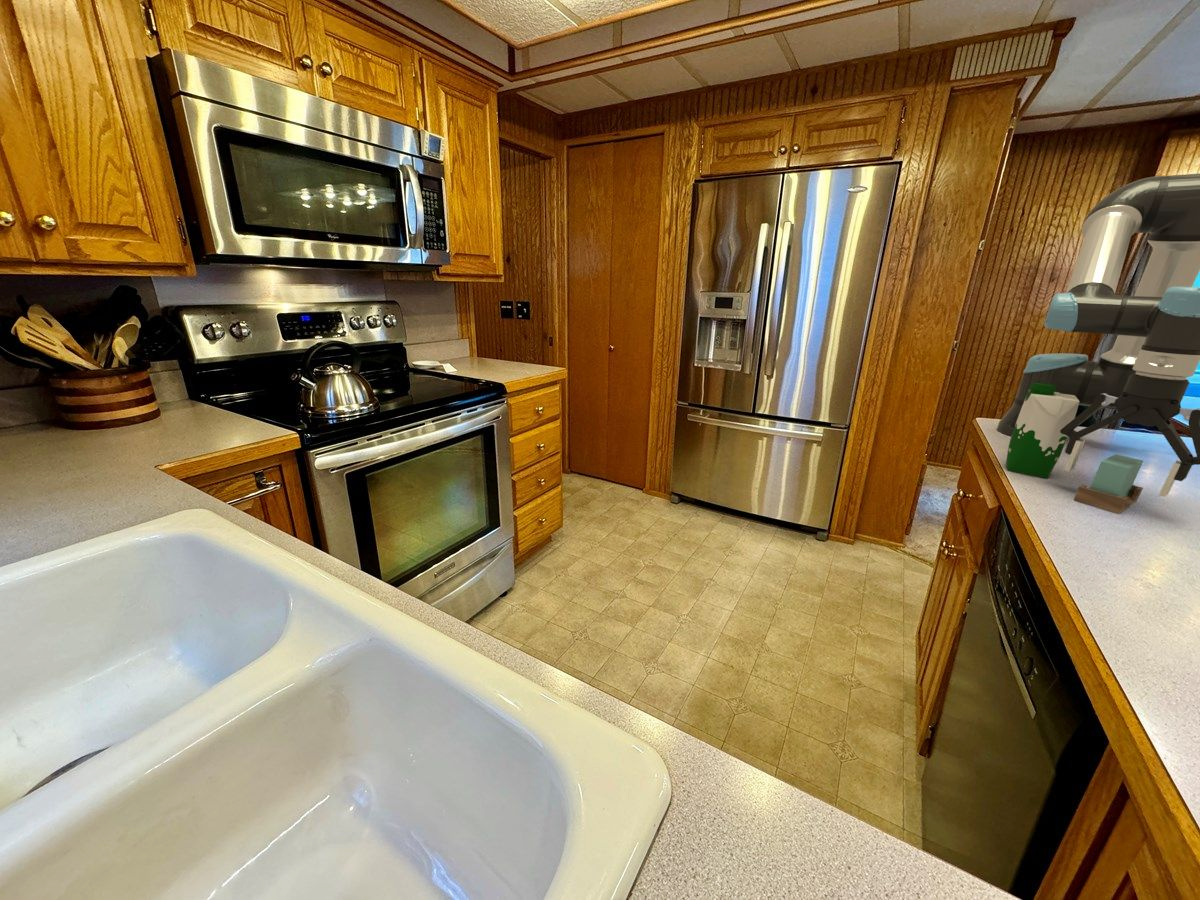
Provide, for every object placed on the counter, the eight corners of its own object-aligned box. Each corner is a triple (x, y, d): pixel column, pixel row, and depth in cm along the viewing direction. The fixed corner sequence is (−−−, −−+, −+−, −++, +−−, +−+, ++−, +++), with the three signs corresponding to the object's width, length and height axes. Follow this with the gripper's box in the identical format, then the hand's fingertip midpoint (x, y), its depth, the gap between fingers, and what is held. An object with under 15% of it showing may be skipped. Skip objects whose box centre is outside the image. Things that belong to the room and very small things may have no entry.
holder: (1093, 488, 102) (1098, 476, 101) (1136, 501, 97) (1143, 487, 96) (1073, 500, 96) (1079, 486, 95) (1118, 513, 91) (1125, 499, 90)
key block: (1100, 489, 100) (1115, 454, 98) (1127, 497, 97) (1143, 460, 94) (1085, 498, 96) (1101, 461, 93) (1112, 506, 93) (1129, 468, 90)
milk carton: (1001, 460, 117) (1029, 379, 110) (1050, 469, 112) (1082, 385, 105) (1002, 470, 111) (1031, 385, 104) (1054, 481, 106) (1089, 392, 99)
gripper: (1064, 365, 96) (1028, 463, 103) (1267, 392, 76) (1205, 511, 83) (1078, 362, 100) (1042, 457, 107) (1275, 387, 80) (1214, 502, 87)
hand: (1113, 481), depth 95 cm, fingers open, 13 cm apart
